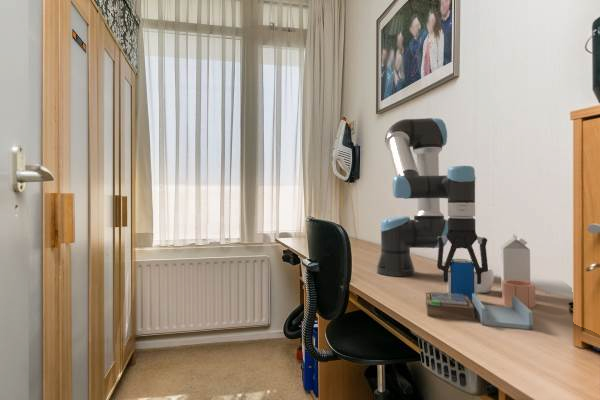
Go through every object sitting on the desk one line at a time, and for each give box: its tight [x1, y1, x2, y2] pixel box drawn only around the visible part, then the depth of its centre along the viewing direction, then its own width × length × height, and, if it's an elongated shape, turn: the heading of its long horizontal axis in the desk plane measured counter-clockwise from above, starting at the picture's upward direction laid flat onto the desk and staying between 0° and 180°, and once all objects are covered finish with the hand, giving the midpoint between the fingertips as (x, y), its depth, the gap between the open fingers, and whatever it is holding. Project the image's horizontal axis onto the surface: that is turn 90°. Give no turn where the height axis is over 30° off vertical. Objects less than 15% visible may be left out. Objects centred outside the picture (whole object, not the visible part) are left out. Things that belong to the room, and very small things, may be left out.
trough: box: [471, 293, 534, 331], centre depth 87 cm, size 14×11×4 cm
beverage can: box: [449, 258, 474, 303], centre depth 103 cm, size 6×6×12 cm
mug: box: [474, 265, 494, 294], centre depth 113 cm, size 12×8×8 cm
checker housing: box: [425, 292, 475, 321], centre depth 93 cm, size 12×11×4 cm
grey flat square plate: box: [430, 291, 467, 306], centre depth 93 cm, size 8×8×1 cm
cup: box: [501, 280, 536, 309], centre depth 99 cm, size 8×8×6 cm
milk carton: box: [500, 233, 531, 291], centre depth 109 cm, size 7×7×19 cm
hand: (462, 293), depth 103 cm, fingers closed on beverage can, 6 cm apart
